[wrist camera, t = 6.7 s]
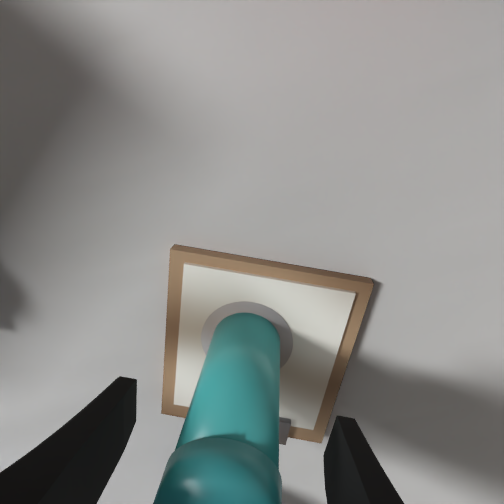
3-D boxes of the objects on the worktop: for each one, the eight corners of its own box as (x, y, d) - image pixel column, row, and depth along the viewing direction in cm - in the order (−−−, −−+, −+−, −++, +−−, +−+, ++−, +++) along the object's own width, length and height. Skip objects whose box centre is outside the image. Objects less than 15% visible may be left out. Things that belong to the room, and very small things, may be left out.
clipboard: (320, 433, 18) (322, 451, 17) (165, 404, 18) (158, 421, 17) (370, 278, 14) (377, 289, 13) (174, 244, 15) (166, 253, 14)
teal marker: (275, 375, 16) (269, 575, 9) (207, 362, 16) (148, 551, 9) (288, 317, 15) (293, 499, 8) (215, 304, 15) (152, 471, 8)
